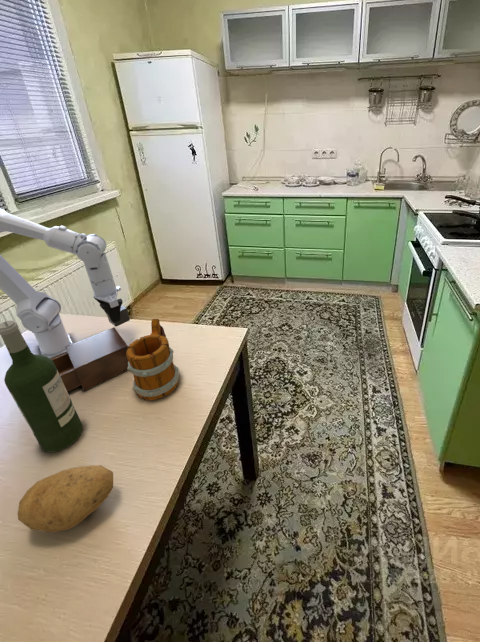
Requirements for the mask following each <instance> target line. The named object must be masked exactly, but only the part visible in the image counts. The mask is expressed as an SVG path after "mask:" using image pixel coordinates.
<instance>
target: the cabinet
mask: <svg viewBox="0 0 480 642" xmlns="http://www.w3.org/2000/svg"><path fill="white" fill-rule="evenodd" d="M72 343H73V344H71V345H68V346H66V347H65V349H66V351H67V352H66V353H68V355H69V358H70V360H71V362H72V364H73V367H74V369H75V371H76V374H77V376H78V378H79V381H80V383H81V388H82V390H83V392H86V391H88V390H91V389H92V388H95V387H96V386H98V385H100V384H102V383H104V382H106V381H109V380H111V379H113V378H115V377H117V376H119V375H121V374H123V373H125V372H127V371H128V369H127V367H128V362H129V361H128V358H127V356H126V351H127V349H128V347H129V345H128V344H127V342H126V340H124V339H123V337H122V336H121V334H120V333H119V331H118V330H117V329H116V327H115V326H114V327H112V328H108V329H106V330H103V331H102V332H97V333H96V334H94V335H91V336H88V337H86V338H83V339H81V340H78V341H76V342H72Z"/></svg>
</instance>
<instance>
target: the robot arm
mask: <svg viewBox="0 0 480 642" xmlns="http://www.w3.org/2000/svg"><path fill="white" fill-rule="evenodd" d="M67 228H68V227H67V226H65V225H60V226H57V225H55V226H52V227H46V226H44V225H42V224H39V223H35V222H33V221H30V220H28V219H25V218H22V217H19V216H17V215H14V214H12V213H9V212H7V211H6V210H4V209H3V208H0V234H1V233H4V232H8V233H11V234H17V235H20V236H24V237H28V238H32V239H35V240H40V241H43V242H44V243H45V244H46V246H47V247H49V248H51V249H55V250H59V251H61V252H65V253H69V254H72V255H75V256H76V257H77V258H78V259H79V260H80V261H81V262H83V264H84V267H85V271H86V273H87V277H88V279H89V283H90V285H91V289H92V291H93V299H94V300H95V301H96V302H98V304H99V307H100V308H101V309H102V310H103V311H104V313H105V315H107V314H108V316H109V318H110V319H111V321H112V322H113V323H116V322H118V321H120V320H121V314H120V310H121V305H123V299H122V298H118V292H120V291H121V290H122V287H121V286H119V285H117V286H116V283H115V280H114V276H113V273H112V269H111V266H110V263H109V260H108V257H107V253H106V252H105V251H106V249H107V242H106V240H105V238H103V237H102V236H101V235H100V236H99V235H97V234H96V233H91V234H87V233H84V232H82V233H79V232H77V231H73V230H71V229H67ZM0 290H1V291H2V292H3V293H4V294H5V295H6V296H7V297H8V298H9V300H11V301H12V302H13V303H14V304H15V306H16V307H15V308H16V310H15V311H16V312H15V313H16V314H15V315H16V317H17V318H18V319H19V320H20V321H21V325H22V326H23V328H24V329H26V330H27V331H29V332H31V333H32V334H33V335H34V338H35V339H36V341H37V344H38V348H39V351H40V355H44V356H46V357H48V358H50V359H52V358H55V357H57V356H59V355H62V354H64V353H67V351H66V349H65V347H66V346H68V345H71V344H73V343H74V342H73V340H72V339H71V336H70V334H69V333H68V332H67V330H66V328H65V325H64V323H63V320H62V317H61V315H60V313H61V311H62V304H61V303H60V301H59V300H57V299H56V298H54V297H51V296H50V295H48V294H47V292H43V291H37V290H36V289H35V288H34V287H33V286H32V285H31V284H30V283H29V282H28V281H27V280H26V279H25V278H24V277H23V276H22V275H21V274H20V273H19V272H18V271H17V270H16V269H15V268H14V266H12V265H11V264H10V263H9V262H8V260H6V259H5V257H3V255H1V254H0ZM106 312H107V313H106Z"/></svg>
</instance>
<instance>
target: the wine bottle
mask: <svg viewBox="0 0 480 642" xmlns="http://www.w3.org/2000/svg"><path fill="white" fill-rule="evenodd" d="M0 337H1V339H2V341H3V343H4V346H5V347H6V350H7V352H8V355H9V356H10V358H11V361H12V362H11V365H10V366H9V367H8V369H7V370H6V372H5V375H4V379H3V380H4V384H5V386H6V388H7V390H8V392H9V394H10V395H11V397H12V399H13V401H14V402H15V404H16V406H17V408H18V409H19V411H20V413H21V414H22V417H23V419H24V420H25V422H26V423H27V426H28V427H29V429H30V430H31V432H32V434H33V436H34V437H35V439H36V442H37V443H38V445H39V446H40V448H41V450H42V451H44V452H47V453H56V452H60V451H62V450H65V449H66V448H68V447H70V446H72V445H73V444H74V443H75V442H76V441H77V440H78V439H79V438H80V436H81V435H82V432H83V430H84V429H83V423H82V420H81V419H80V417H79V414H78V412H77V409H76V407H75V405H74V403H73V401H72V399H71V396H70V394H69V391H68V392H67V390H66V388H65V386H64V383H63V381H62V379H61V377H60V375H59V372H58V370H57V368H56V366H55V364H54V362H53V361H52V358H48V357H46V356H44V355H42V354H34V353H33V352H32V351H31V349H30V347H29V345H28V343H27V342H26V340H25V337H23V334H22V333H21V331H20V329H19V325H18V324H17V322H15V320H6V321H3V322H1V323H0Z"/></svg>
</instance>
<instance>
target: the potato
mask: <svg viewBox="0 0 480 642" xmlns="http://www.w3.org/2000/svg"><path fill="white" fill-rule="evenodd" d="M113 489H114V471H113V470H111V469H109V468H107V467H105V466H103V465H101V464H100V465H99V464H97V465H95V464H94V465H83V466H76V467H72V468H67V469H64V470H60V471H59V472H56V473H54V474H51V475H49V476H46V477H44V478H42V479H40V480H38V481H36V482H35V483H34V484H33V485H31V487H29V488H28V489H27V490H26V491H25V493H24V495H23V496H22V498H21V499H20V501H19V502H18V507H17V509H18V510H17V520H18V521H19V522H20V523H21V524H23V525H24V526H25V527H27V528H28V529H30V530H32V531H41V532H45V533H55V532H62V531H66V530H67V531H68V530H71V529H72V528H73V527H74V528H75V526H77V525H79V524H80V523H81V522H83V521H84V520H85V519H86V518H87V517H88V516H89V515H91V514H92V513H93V512H94V511H96V510H97V509H98V508H99V507H100V506H101V505H102V504H103V503H104V502H105V501H106V500H107V499H108V497H109V496H110V494H111V492H112V490H113Z"/></svg>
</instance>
